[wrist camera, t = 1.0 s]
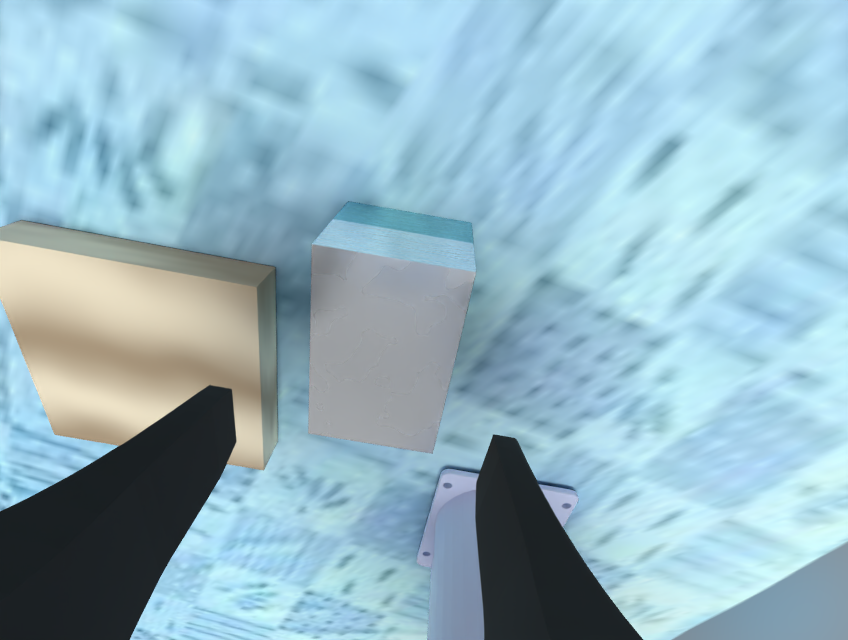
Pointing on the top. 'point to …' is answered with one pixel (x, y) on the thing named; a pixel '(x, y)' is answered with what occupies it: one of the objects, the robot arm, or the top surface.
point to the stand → (140, 333)
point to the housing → (386, 323)
